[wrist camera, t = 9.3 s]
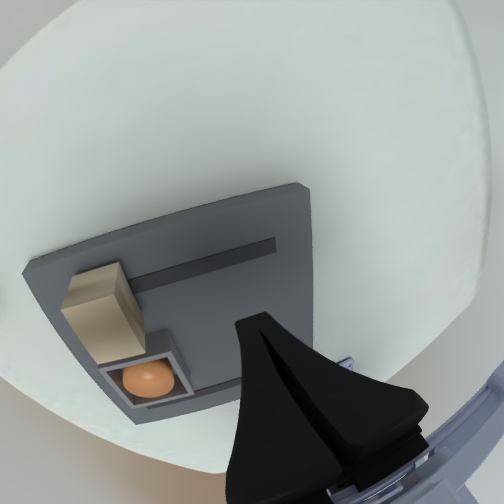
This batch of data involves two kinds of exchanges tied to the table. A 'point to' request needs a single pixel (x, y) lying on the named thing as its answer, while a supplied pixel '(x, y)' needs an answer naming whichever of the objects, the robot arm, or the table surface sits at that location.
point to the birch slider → (105, 314)
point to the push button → (149, 378)
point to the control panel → (194, 292)
